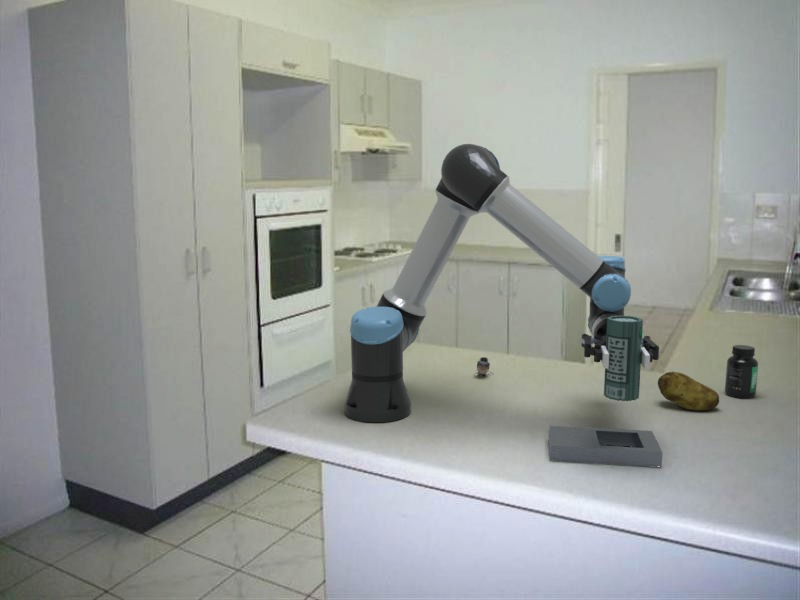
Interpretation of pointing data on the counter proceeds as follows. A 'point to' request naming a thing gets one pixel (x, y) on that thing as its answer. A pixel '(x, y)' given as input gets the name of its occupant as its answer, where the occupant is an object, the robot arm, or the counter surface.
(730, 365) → the supplement bottle
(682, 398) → the potato
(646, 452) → the grey slab with hole
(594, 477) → the counter surface
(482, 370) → the vase
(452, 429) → the counter surface
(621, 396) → the can
